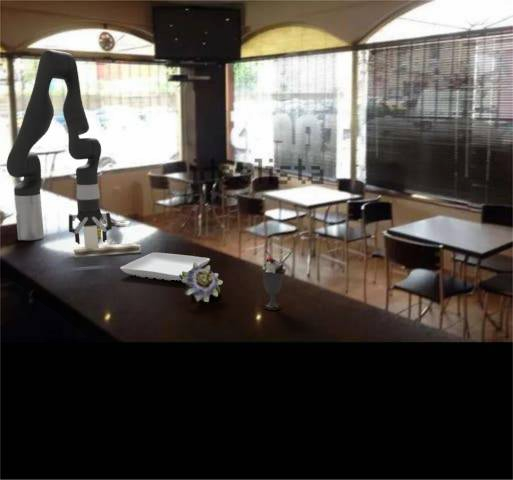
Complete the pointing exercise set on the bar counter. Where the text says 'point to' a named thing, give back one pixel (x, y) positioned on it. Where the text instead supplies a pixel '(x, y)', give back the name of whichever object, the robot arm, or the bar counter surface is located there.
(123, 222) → the cloth
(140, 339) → the bar counter surface
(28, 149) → the robot arm
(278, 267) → the sundae
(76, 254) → the shelf board
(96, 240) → the carton
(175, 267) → the salad plate
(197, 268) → the passion flower
